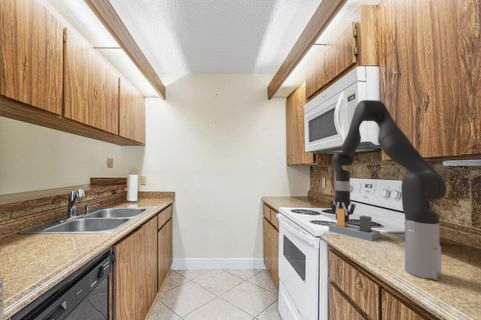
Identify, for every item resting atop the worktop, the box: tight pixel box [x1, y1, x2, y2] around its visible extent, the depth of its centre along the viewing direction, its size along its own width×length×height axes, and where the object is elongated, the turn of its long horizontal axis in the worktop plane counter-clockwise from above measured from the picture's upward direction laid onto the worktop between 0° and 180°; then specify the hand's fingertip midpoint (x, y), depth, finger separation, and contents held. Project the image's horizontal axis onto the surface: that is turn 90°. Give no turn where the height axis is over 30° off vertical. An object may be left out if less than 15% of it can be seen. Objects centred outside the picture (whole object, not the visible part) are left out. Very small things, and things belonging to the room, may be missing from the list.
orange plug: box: [336, 208, 349, 228], centre depth 132 cm, size 4×4×10 cm
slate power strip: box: [328, 215, 381, 242], centre depth 127 cm, size 22×10×10 cm, turn 40°
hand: (342, 221), depth 132 cm, fingers closed on orange plug, 4 cm apart
